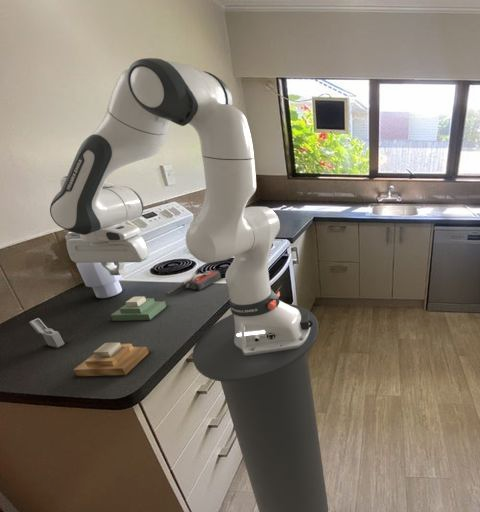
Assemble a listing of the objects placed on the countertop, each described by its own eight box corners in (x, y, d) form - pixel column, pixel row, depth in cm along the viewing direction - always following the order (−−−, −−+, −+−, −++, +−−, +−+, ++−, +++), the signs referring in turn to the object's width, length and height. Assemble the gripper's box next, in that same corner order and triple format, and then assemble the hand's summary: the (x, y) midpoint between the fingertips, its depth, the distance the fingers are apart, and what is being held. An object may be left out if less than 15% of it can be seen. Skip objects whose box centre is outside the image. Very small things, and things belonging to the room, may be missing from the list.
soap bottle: (97, 303, 104) (69, 240, 94) (86, 296, 108) (58, 235, 99) (132, 291, 112) (109, 232, 102) (120, 285, 116) (97, 228, 107)
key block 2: (148, 353, 80) (144, 341, 78) (125, 375, 72) (120, 362, 71) (104, 354, 79) (99, 342, 78) (76, 376, 72) (70, 363, 70)
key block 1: (166, 306, 101) (163, 296, 100) (150, 319, 94) (146, 309, 93) (132, 307, 101) (128, 297, 100) (112, 320, 94) (108, 310, 92)
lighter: (65, 343, 83) (52, 320, 80) (57, 347, 82) (44, 324, 79) (48, 339, 85) (35, 317, 82) (40, 343, 84) (27, 320, 80)
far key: (146, 301, 98) (144, 296, 97) (138, 307, 95) (136, 301, 94) (135, 301, 98) (133, 296, 97) (127, 307, 95) (125, 302, 94)
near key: (122, 348, 76) (119, 342, 75) (110, 358, 73) (107, 351, 72) (108, 348, 76) (105, 342, 75) (96, 358, 73) (93, 352, 72)
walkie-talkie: (208, 274, 125) (164, 297, 108) (205, 265, 124) (161, 286, 106) (224, 276, 123) (183, 300, 105) (222, 267, 121) (179, 289, 104)
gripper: (51, 235, 79) (72, 279, 84) (128, 234, 80) (144, 278, 85) (73, 228, 85) (91, 270, 90) (144, 228, 86) (158, 269, 91)
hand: (117, 274), depth 88 cm, fingers closed
